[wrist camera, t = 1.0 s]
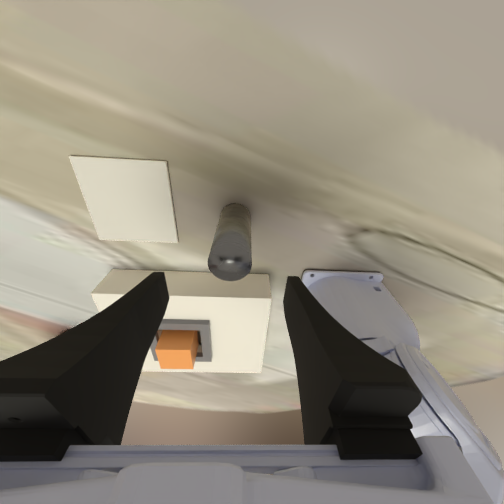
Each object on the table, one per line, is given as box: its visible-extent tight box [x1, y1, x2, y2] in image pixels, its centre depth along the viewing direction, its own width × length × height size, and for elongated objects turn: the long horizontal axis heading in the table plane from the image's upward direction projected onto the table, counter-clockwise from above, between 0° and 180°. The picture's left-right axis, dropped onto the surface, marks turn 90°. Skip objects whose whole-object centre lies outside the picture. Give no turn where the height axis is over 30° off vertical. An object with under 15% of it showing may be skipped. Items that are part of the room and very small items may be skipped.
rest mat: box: [69, 156, 179, 243], centre depth 20 cm, size 8×8×1 cm
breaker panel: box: [91, 269, 272, 373], centre depth 27 cm, size 18×14×5 cm
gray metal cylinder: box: [208, 203, 252, 281], centre depth 18 cm, size 3×3×8 cm
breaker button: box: [155, 330, 199, 369], centre depth 24 cm, size 4×4×3 cm
